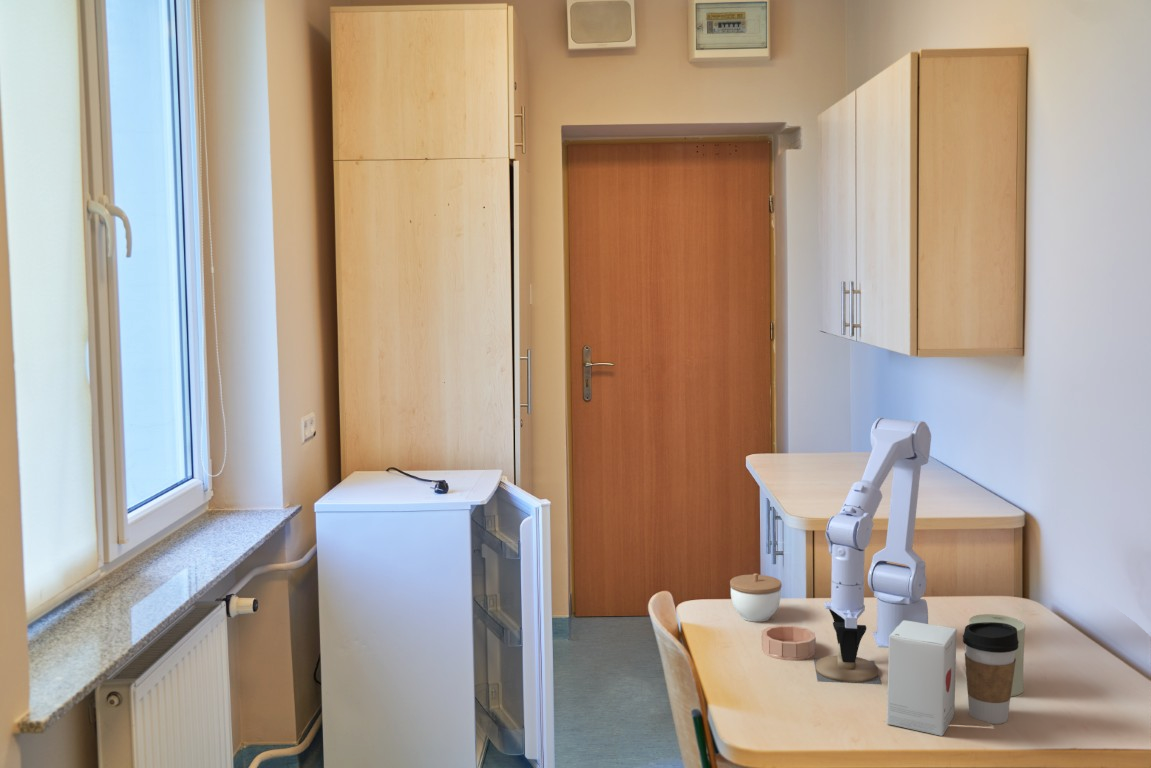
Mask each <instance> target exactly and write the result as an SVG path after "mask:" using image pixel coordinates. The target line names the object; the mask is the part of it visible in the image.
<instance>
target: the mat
mask: <svg viewBox="0 0 1151 768" xmlns="http://www.w3.org/2000/svg"><path fill="white" fill-rule="evenodd" d="M819 659H821V658H816V657H815V658H813V662H814V669H815V674H816V681H817V682H821V683H822V682H823V683H824V682H825V683H845V684H850V683H849V682H840V681H835V680H831V679H828V678H825V677H823V676H821V675H820V674H818V673H817V671H816V662H817V661H818V660H819ZM869 661H870V662H872V663H874V664H875V665H876V663H875V660H869ZM857 684H865V685H882V681H881V678H880V674H879V673H878V676H877V677H876V678H874V679H873V680H870V681H866V682H858V683H857Z"/></svg>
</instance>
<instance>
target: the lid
mask: <svg viewBox="0 0 1151 768" xmlns="http://www.w3.org/2000/svg"><path fill="white" fill-rule="evenodd" d="M870 661H871V660H868V659H866V658H862V657H858V656H856V660H855V663H849V662H843V661H842V657H841V651H840V643H839V644H838V643H837V655H828V656H824V657H821V658H820V659H819V660H818V661H817V662H816V670H815V672H816V671H817V673H818V674H820V675H821V676H823V677H825V678H828V679H831V680H835V681H840V682H839V683H841V682H849V683H848V684H859V683H858V682H866V681H870V680H873V679H874V678H876V677H877V676H878V674H879V667H878V666H877V664H876V663H875V664H874V663H872V662H870Z"/></svg>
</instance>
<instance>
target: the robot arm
mask: <svg viewBox="0 0 1151 768" xmlns="http://www.w3.org/2000/svg"><path fill="white" fill-rule="evenodd" d="M870 429H871V430H870V438H869V439H870V446H871V452H870V455H869V458H868V461H867V464H866V467H865V469H864V472H863V474H862V477H861V480H859V481H855V482H853V484H852V485H851V488H850V489H849V491H848V494H847V496H846V498H845V500H844V502H843V504H842V506H841V508H840V510H839V512H838V513H836V514H835V515H832V516H830V518H829V520H828V522H827V525H826V531H825V540H826V542H827V545H828V553H829V554H830V555H831V576H830V577H831V580H830V581H831V583H830V587H831V588H830V590H831V591H830V592H831V593H830V595H831V596H830V602H829V601H827V602H826V601H825V602H824V604H823V607H824V609H826V610H829V613H830V614H831V617H832V621H833V622H832V626H833V629H834V631H835V633H836V640H837V645H838V644H839V643H840V651H841V657H842V661H843V662H849V663H855V660H856V657H858V651H859V647H860V643H861V640H862V639H863V636H864V635H865V633H866V631H867V626H866V625H865V624H858V619H859V618H860V617H861V616H862V614H863V613H864V612H865V611H866V610H865V609H866V608H865V607H866V605H865V563H866V562H865V557H866V549H867V547H868V546H869V544H870V542H871V539H872V538H871V537H872V530H873V528H874V522H873V519H874V517H875V514H876V513H877V510H878V509H879V507H880V506H879V505H880V503H881V502H882V499H883V494H882V492H881V490H880V489H881V487H882V485H883V484H884V482H885V481H886V479H887V477H888V475H889V474H890V472H891V470H892V469H893V475H892V483H891V494H890V502H889V512H888V522H887V530H886V531H887V532H886V533H887V534H886V540H885V547H884V548H883V549H880V550H879V551H877V552H875V553H874V554H873V555H872V560H871V564H870V567H869V570H868V574H867V584H868V587H869V589H870V591H871V592H872V593H873V597H874V598H877V600H876V602H877V604H876V606H877V608H876V610H877V611H876V613H877V614H876V631H872V636H873V639H874V642H875V645H876V647H877V648H885V649H886V648H888V649H889V636H890V635H891V634H892V632H893V631H894V630H895V628H896V627H897V626H899V625H900V624H901V622H902V621H904V620H906V621H913V622H918V623H924V624H929V608H928V602H927V599H925V598H922V597H923V596H924V595H925V592H926V589H927V575H926V574H927V573H926V561H924V559H923V558H921V556H919V554H917V552H916V551H915V550H914V549H913V546H914V536H915V527H916V526H915V525H916V517H917V508H918V507H917V506H918V498H919V488H920V477H921V469H922V466H924V465H927V464H928V463H929V458H930V451H931V442H932V433H931V430H930V427H929V426H928V424H927V423H926V422H925V421H924V420H921V421H920V420H919V421H916V420H915V421H914V420H905V419H904V420H903V419H893V418H884V417H878V418H877V419H876V420H875V421H874V422H873V424H872V426H871V428H870ZM894 563H895V564H894Z"/></svg>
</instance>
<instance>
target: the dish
mask: <svg viewBox="0 0 1151 768" xmlns="http://www.w3.org/2000/svg"><path fill="white" fill-rule="evenodd" d="M815 633H816V632H815V631H812V630H810V629H808V628H806V627H801V626H797V625H787V624H785V625H784V624H781V625H780V624H779V625H773V626H768V627H767V628H765V629H762V630H761V651H762V653H763V654H764V655H766V656H767V657H770V658H772V659H775V660H780V661H804V660H809V659H811V658H812V657H814V656H815V654H816V650H817V649H816V646H817V645H816V640H817V639H816V638H817V637H816V634H815Z"/></svg>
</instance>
